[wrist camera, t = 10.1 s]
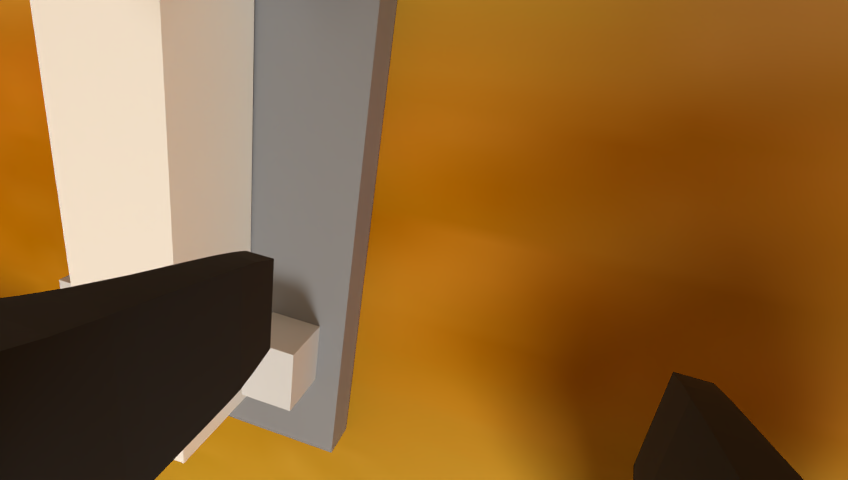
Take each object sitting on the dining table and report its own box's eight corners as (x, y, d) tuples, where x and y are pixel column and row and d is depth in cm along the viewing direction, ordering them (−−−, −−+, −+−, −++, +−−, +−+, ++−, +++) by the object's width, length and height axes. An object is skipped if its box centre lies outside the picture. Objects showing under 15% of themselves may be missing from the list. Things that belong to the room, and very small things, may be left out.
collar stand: (345, 428, 24) (308, 488, 20) (121, 351, 26) (57, 394, 23) (428, -262, 14) (382, -347, 11) (60, -283, 16) (-64, -358, 13)
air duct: (249, 393, 22) (184, 464, 19) (167, 365, 23) (89, 428, 20) (261, -231, 14) (143, -324, 10) (129, -242, 15) (-22, -331, 11)
